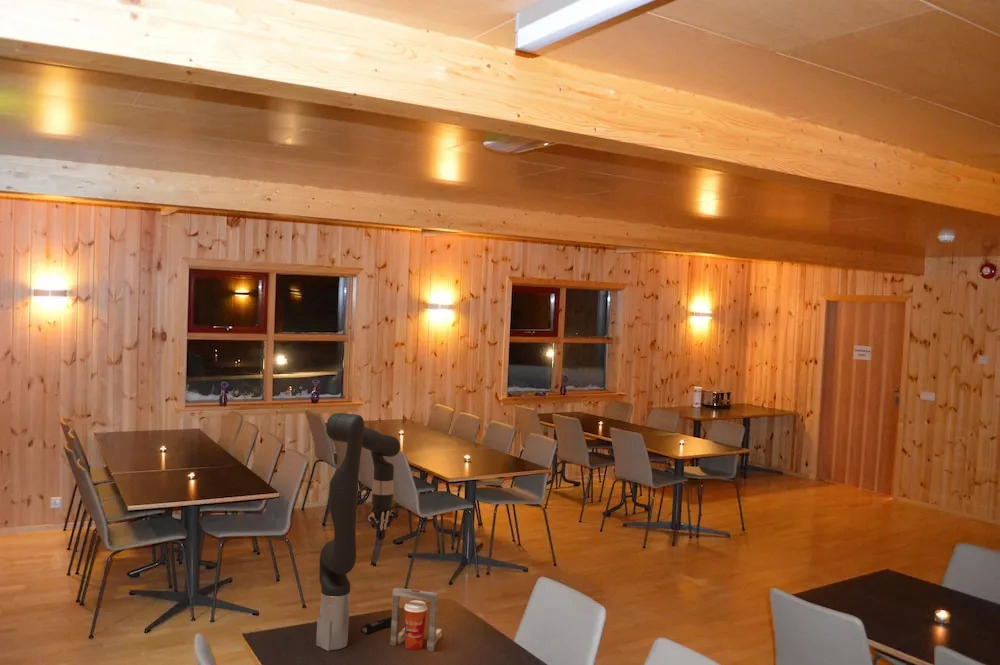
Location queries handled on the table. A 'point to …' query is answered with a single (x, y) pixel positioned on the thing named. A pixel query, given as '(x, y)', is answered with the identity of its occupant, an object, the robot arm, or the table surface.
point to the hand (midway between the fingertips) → (380, 539)
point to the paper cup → (414, 624)
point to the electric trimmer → (376, 625)
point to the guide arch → (398, 638)
